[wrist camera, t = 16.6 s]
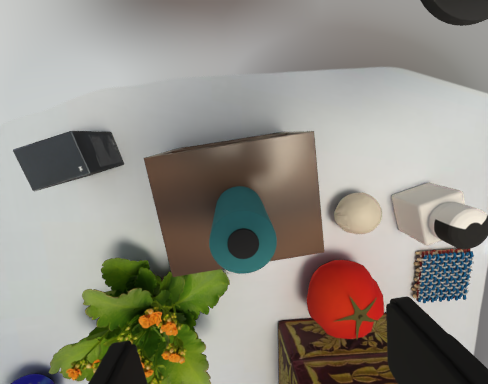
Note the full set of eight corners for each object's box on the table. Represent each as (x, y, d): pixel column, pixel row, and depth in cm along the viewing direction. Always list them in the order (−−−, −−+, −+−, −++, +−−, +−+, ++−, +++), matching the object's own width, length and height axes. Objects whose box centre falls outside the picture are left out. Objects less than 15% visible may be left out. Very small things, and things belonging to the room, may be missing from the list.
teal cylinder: (212, 190, 28) (202, 217, 19) (259, 182, 28) (273, 206, 19) (220, 234, 29) (215, 280, 20) (265, 227, 29) (281, 269, 20)
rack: (175, 148, 42) (143, 158, 27) (283, 131, 42) (313, 131, 27) (192, 227, 45) (172, 277, 30) (292, 211, 46) (324, 252, 30)
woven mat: (468, 244, 49) (478, 249, 47) (460, 293, 51) (469, 300, 49) (414, 248, 48) (422, 253, 47) (409, 297, 51) (416, 304, 49)
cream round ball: (323, 197, 45) (339, 208, 39) (362, 183, 45) (385, 192, 39) (333, 231, 47) (350, 247, 40) (371, 217, 47) (394, 231, 40)
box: (111, 130, 41) (71, 130, 31) (125, 164, 42) (91, 174, 32) (64, 145, 41) (9, 149, 31) (80, 178, 42) (32, 192, 32)
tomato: (361, 308, 51) (394, 352, 41) (299, 312, 50) (317, 359, 40) (365, 246, 48) (402, 277, 38) (299, 250, 47) (319, 283, 37)
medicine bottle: (434, 217, 47) (501, 245, 36) (397, 230, 47) (452, 262, 36) (428, 181, 46) (496, 198, 34) (390, 195, 46) (444, 216, 34)
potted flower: (212, 364, 52) (203, 476, 35) (92, 352, 50) (20, 465, 33) (232, 252, 47) (233, 320, 30) (98, 233, 45) (17, 295, 28)
